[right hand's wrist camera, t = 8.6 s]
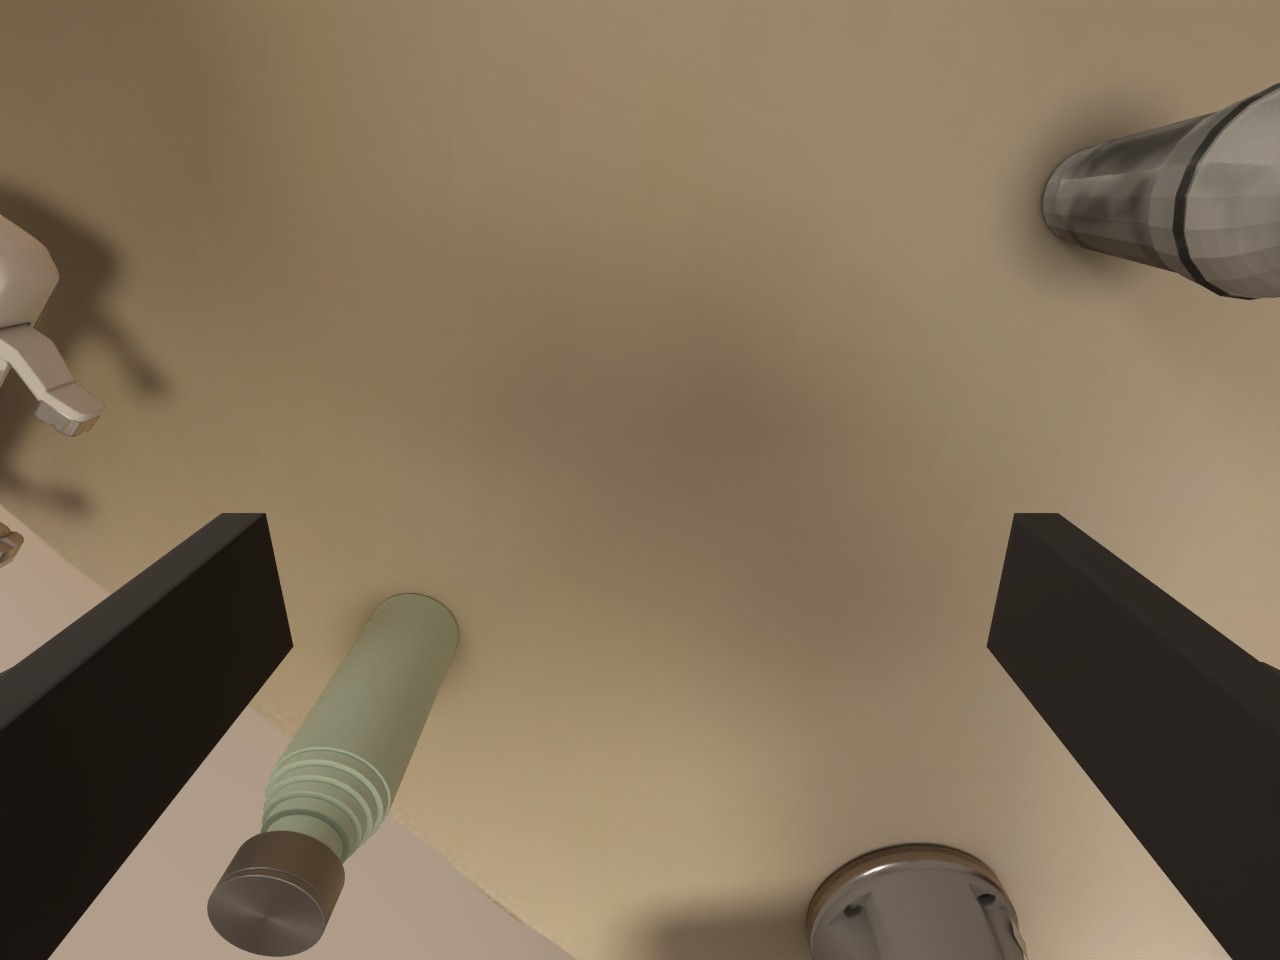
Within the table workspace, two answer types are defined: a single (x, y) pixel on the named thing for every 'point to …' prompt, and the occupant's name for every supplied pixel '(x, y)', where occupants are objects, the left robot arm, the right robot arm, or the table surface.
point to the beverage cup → (1183, 198)
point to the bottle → (363, 727)
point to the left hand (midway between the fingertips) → (48, 492)
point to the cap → (277, 894)
